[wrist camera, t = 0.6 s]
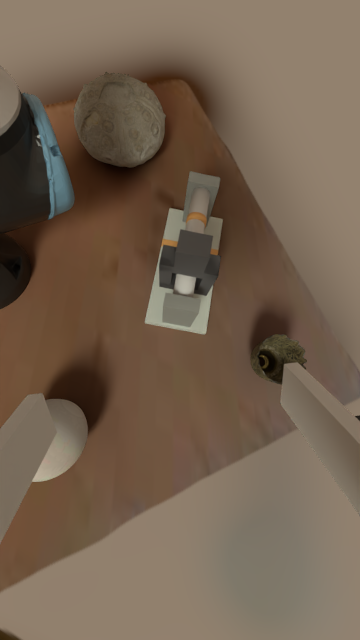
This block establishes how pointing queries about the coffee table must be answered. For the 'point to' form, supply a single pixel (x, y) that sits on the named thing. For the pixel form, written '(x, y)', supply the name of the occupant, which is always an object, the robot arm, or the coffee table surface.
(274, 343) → the cup
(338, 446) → the robot arm
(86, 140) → the grey stone
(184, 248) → the collar
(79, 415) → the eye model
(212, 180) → the pipe stand
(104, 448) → the coffee table surface
